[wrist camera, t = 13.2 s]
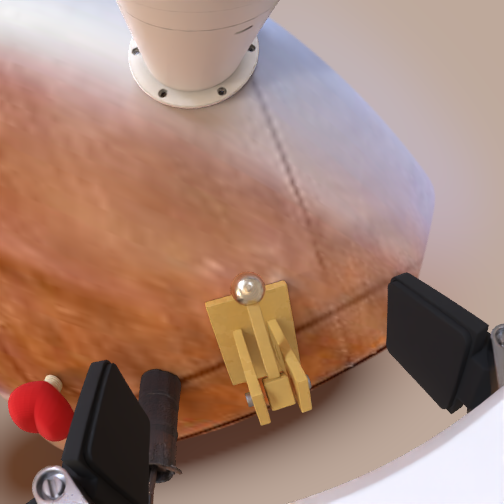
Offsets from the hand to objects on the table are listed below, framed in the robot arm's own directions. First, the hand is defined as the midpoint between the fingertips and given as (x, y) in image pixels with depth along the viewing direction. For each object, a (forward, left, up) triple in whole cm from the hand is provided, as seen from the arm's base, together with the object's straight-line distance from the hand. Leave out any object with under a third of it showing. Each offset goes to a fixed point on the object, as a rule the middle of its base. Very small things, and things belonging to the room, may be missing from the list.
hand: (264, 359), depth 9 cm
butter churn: (+21, +4, -22) cm, 31 cm away
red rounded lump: (+29, -10, -22) cm, 38 cm away
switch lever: (+7, +9, -16) cm, 20 cm away
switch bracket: (+10, +11, -22) cm, 27 cm away
